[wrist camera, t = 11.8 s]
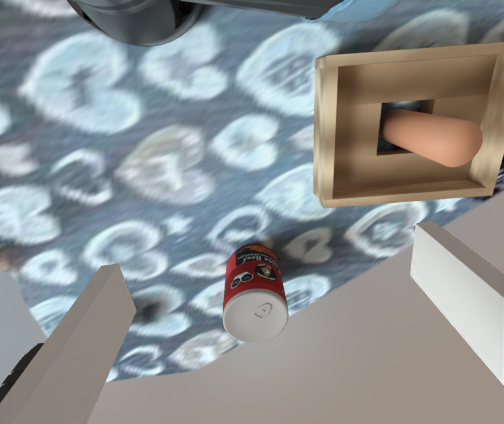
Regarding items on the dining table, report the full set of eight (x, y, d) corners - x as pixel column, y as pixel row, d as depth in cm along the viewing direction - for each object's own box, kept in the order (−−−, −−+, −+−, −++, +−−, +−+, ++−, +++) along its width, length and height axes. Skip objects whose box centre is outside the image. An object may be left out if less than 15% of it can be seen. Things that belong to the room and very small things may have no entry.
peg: (379, 109, 36) (440, 122, 25) (412, 107, 36) (488, 118, 25) (376, 143, 37) (432, 168, 26) (407, 140, 37) (476, 165, 26)
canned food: (286, 252, 44) (300, 303, 34) (264, 292, 46) (271, 351, 36) (238, 235, 42) (238, 283, 32) (219, 277, 45) (212, 334, 35)
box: (315, 59, 33) (328, 55, 28) (491, 45, 33) (535, 39, 28) (313, 192, 40) (323, 208, 35) (460, 180, 40) (492, 194, 35)
